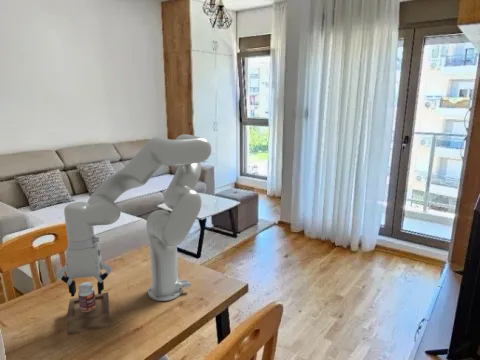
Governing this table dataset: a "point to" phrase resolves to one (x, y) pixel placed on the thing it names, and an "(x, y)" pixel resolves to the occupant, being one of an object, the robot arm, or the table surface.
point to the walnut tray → (88, 315)
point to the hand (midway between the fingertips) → (87, 292)
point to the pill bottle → (86, 297)
